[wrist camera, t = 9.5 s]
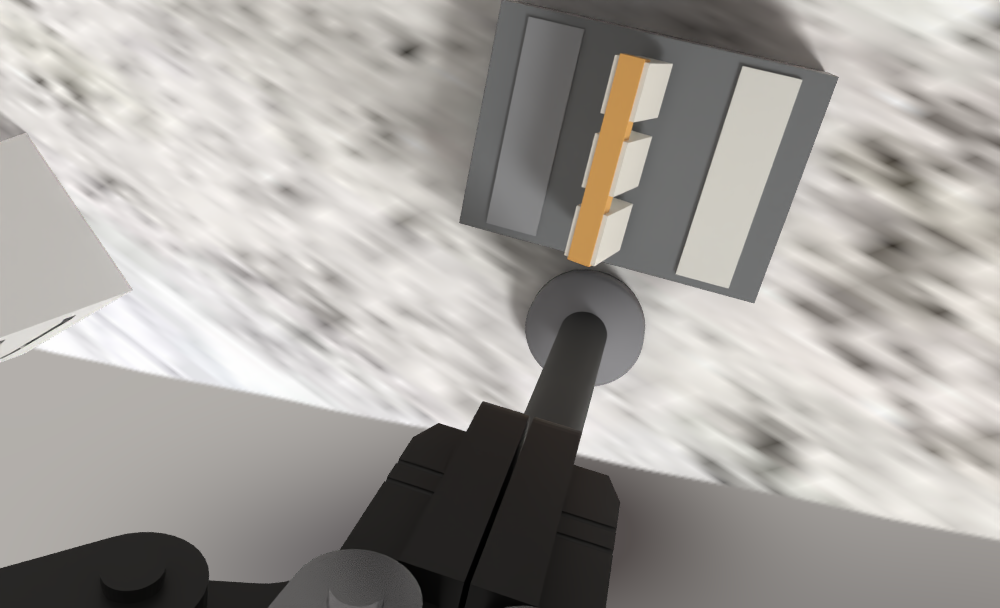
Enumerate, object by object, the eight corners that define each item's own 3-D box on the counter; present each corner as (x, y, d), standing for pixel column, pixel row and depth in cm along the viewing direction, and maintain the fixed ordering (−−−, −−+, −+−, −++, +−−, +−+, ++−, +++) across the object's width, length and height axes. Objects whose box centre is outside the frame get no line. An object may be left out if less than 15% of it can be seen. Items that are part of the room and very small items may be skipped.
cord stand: (658, 287, 37) (620, 583, 18) (628, 389, 40) (566, 745, 21) (542, 256, 38) (390, 509, 19) (520, 358, 41) (364, 673, 22)
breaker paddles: (673, 61, 30) (650, 60, 28) (619, 252, 34) (593, 268, 31) (641, 53, 31) (615, 51, 28) (590, 242, 34) (563, 257, 32)
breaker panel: (825, 71, 32) (839, 77, 30) (749, 281, 36) (754, 304, 34) (516, 1, 34) (500, -1, 31) (475, 208, 38) (458, 223, 35)
